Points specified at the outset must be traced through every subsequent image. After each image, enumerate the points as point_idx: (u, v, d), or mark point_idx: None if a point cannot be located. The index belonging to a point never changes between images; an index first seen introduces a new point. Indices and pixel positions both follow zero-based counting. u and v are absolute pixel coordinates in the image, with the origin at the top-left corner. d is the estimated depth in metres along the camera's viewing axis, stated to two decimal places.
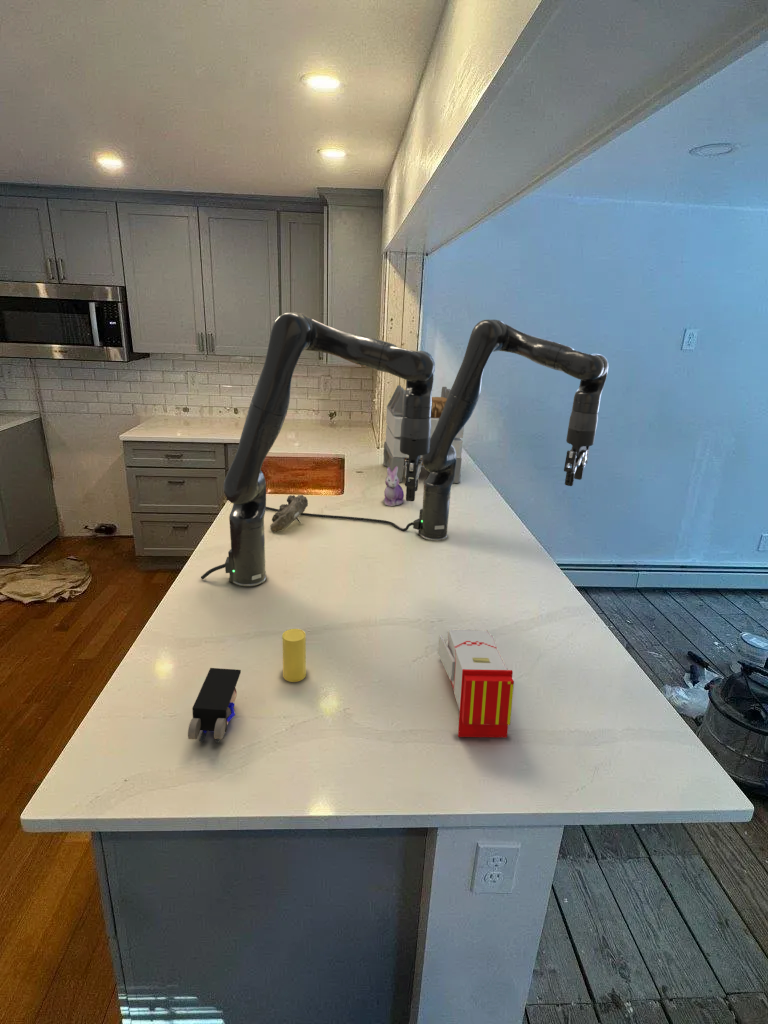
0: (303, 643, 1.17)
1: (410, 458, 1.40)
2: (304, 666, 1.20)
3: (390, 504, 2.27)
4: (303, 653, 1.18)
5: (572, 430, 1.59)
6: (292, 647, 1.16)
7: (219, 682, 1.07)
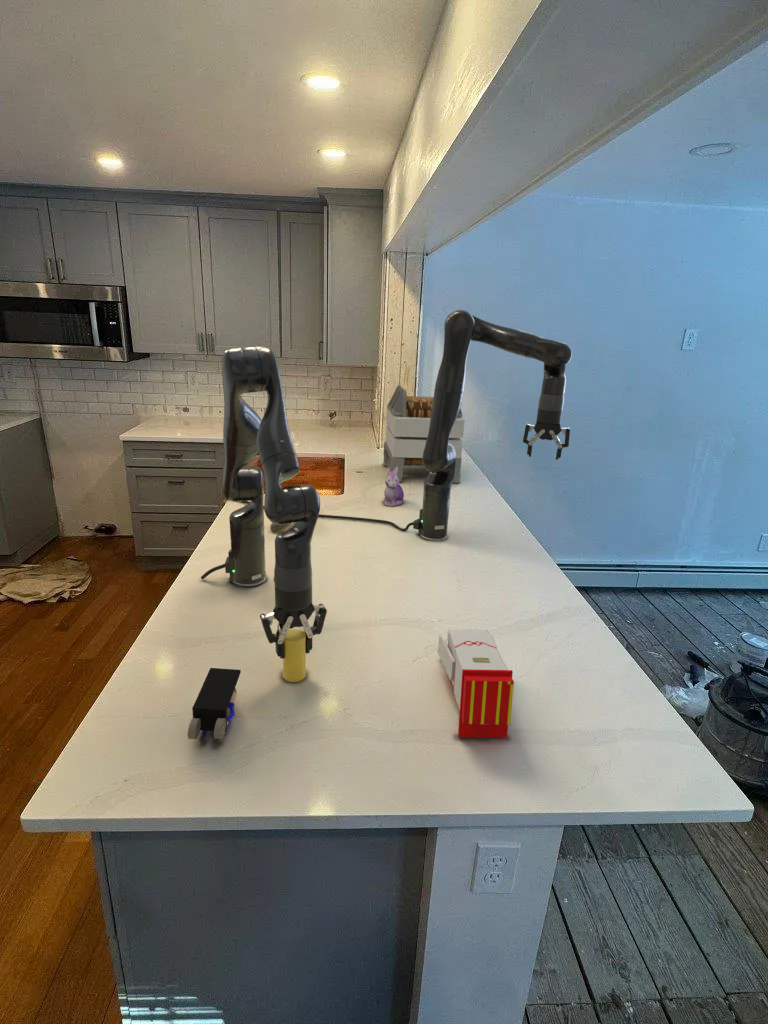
0: (303, 643, 1.17)
1: None
2: (304, 666, 1.20)
3: (390, 504, 2.27)
4: (303, 653, 1.18)
5: (561, 411, 1.77)
6: (292, 647, 1.16)
7: (219, 682, 1.07)
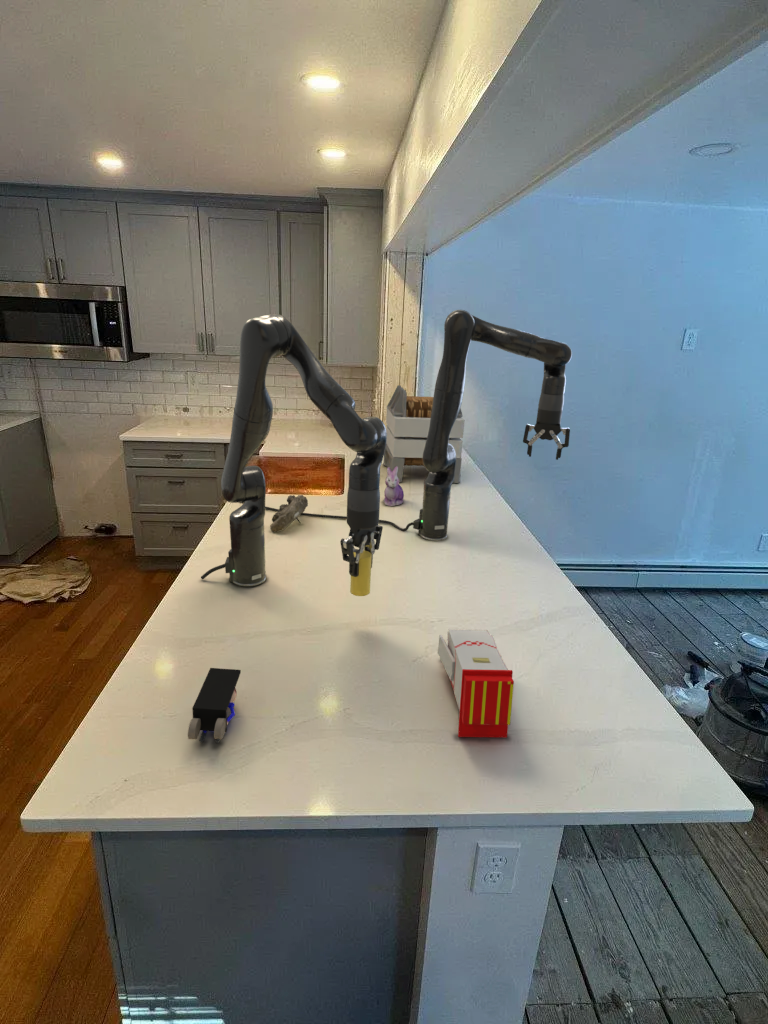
0: None
1: None
2: None
3: (390, 504, 2.27)
4: None
5: (561, 411, 1.77)
6: (366, 564, 1.33)
7: (219, 682, 1.07)
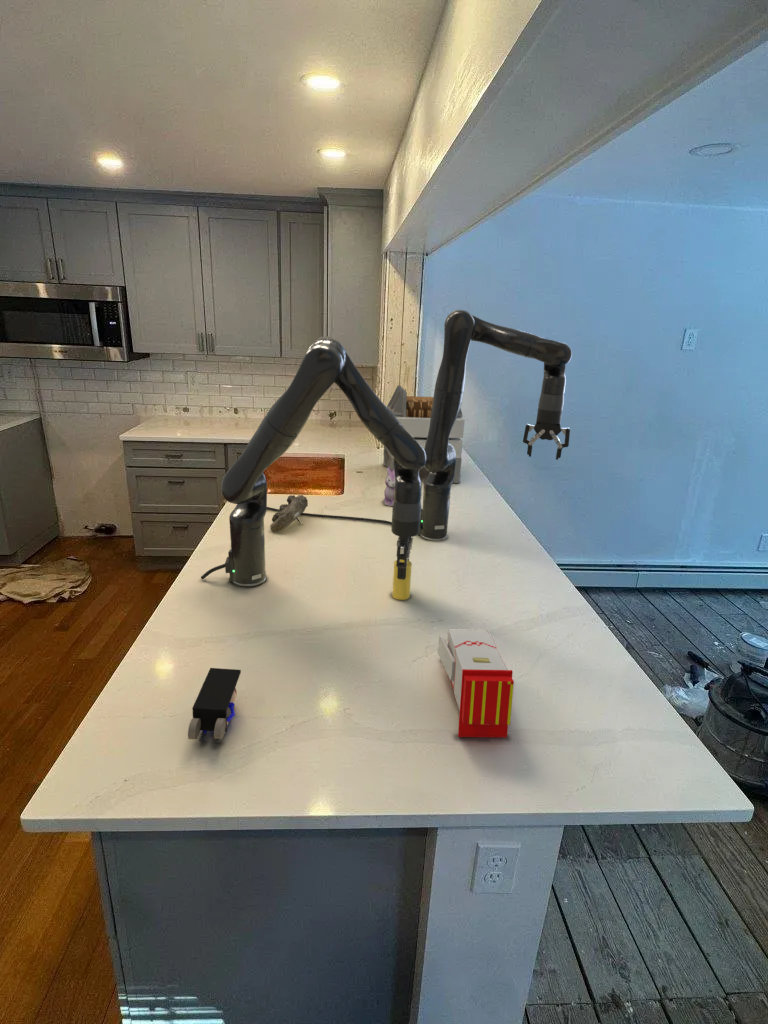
0: None
1: None
2: None
3: (390, 504, 2.27)
4: None
5: (561, 411, 1.77)
6: (410, 570, 1.53)
7: (219, 682, 1.07)
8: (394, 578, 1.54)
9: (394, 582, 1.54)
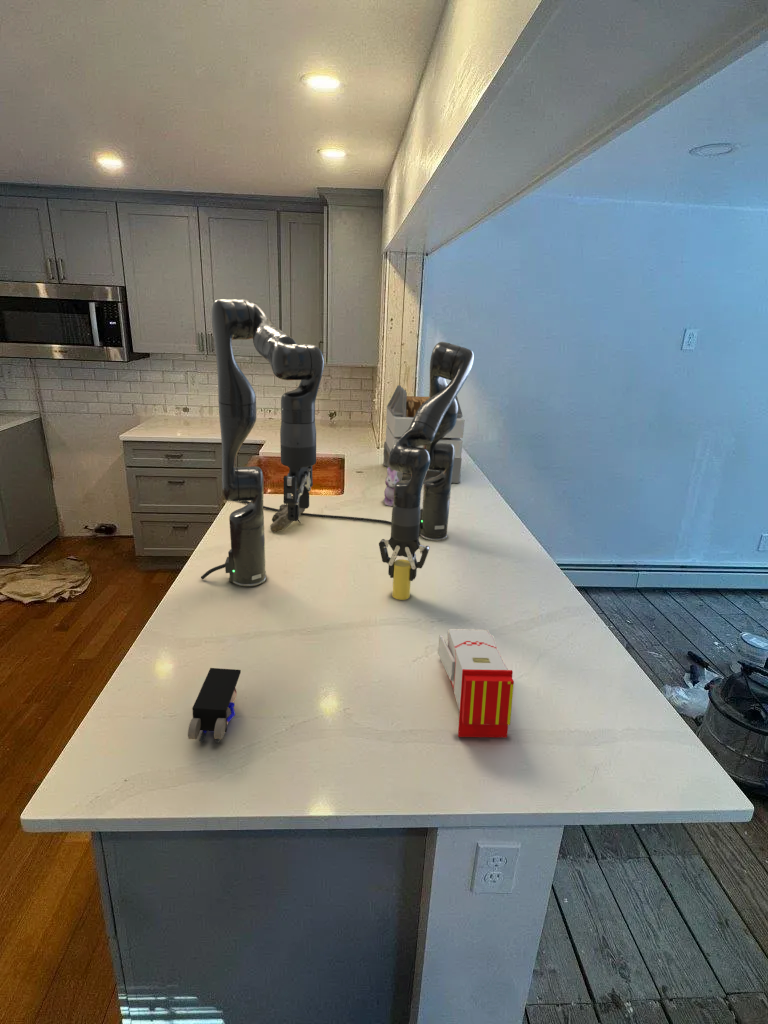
0: None
1: None
2: None
3: (390, 504, 2.27)
4: None
5: (416, 526, 1.47)
6: None
7: (219, 682, 1.07)
8: (394, 578, 1.54)
9: (394, 582, 1.54)
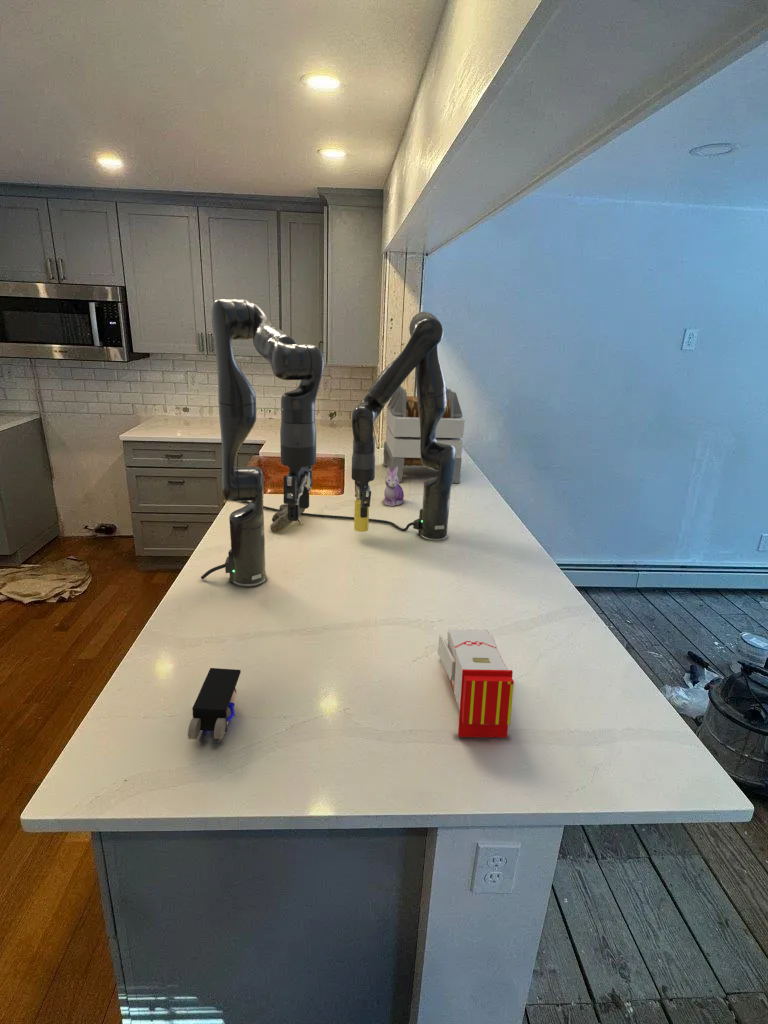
0: None
1: None
2: (367, 522, 1.90)
3: (390, 504, 2.27)
4: (367, 513, 1.88)
5: (360, 470, 1.81)
6: None
7: (219, 682, 1.07)
8: None
9: None
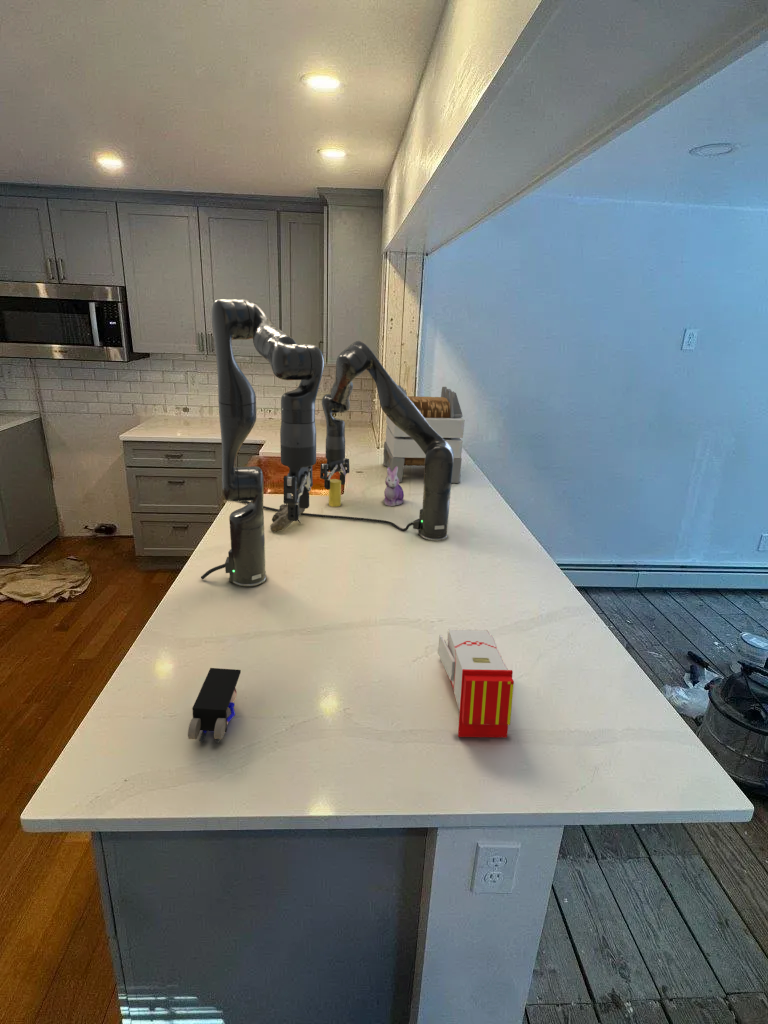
0: (335, 485, 2.21)
1: None
2: (336, 500, 2.23)
3: (390, 504, 2.27)
4: (335, 491, 2.22)
5: (326, 448, 2.17)
6: None
7: (219, 682, 1.07)
8: None
9: None
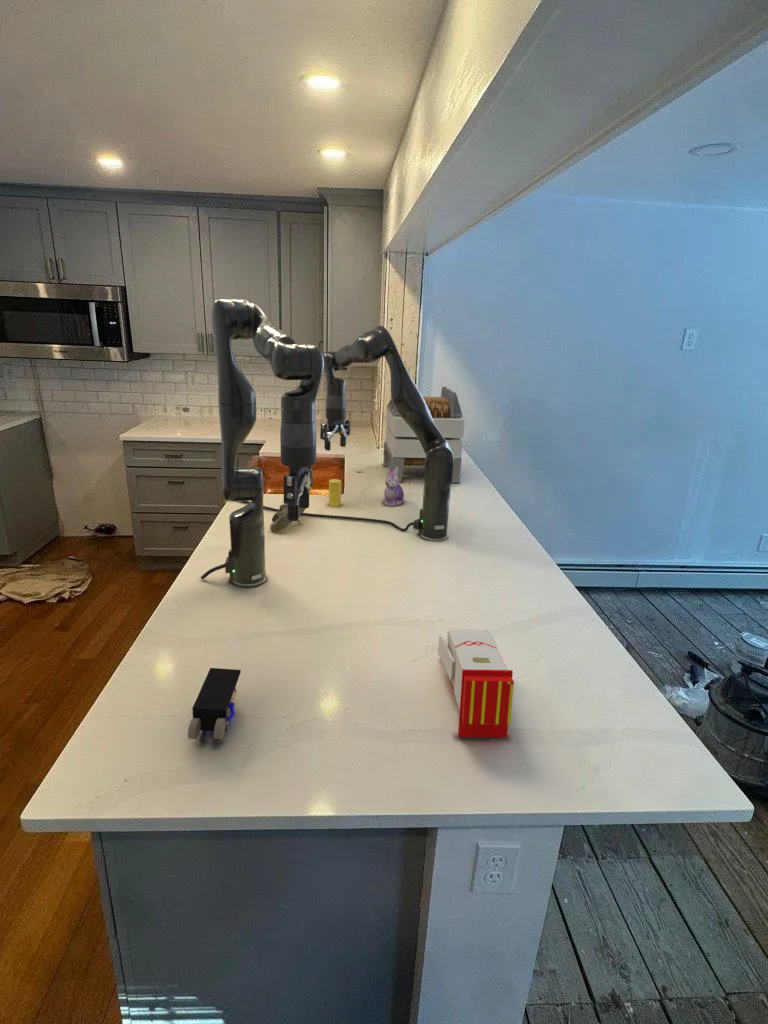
0: (335, 485, 2.21)
1: None
2: (336, 500, 2.23)
3: (390, 504, 2.27)
4: (335, 491, 2.22)
5: (326, 408, 2.12)
6: (329, 485, 2.22)
7: (219, 682, 1.07)
8: None
9: None
